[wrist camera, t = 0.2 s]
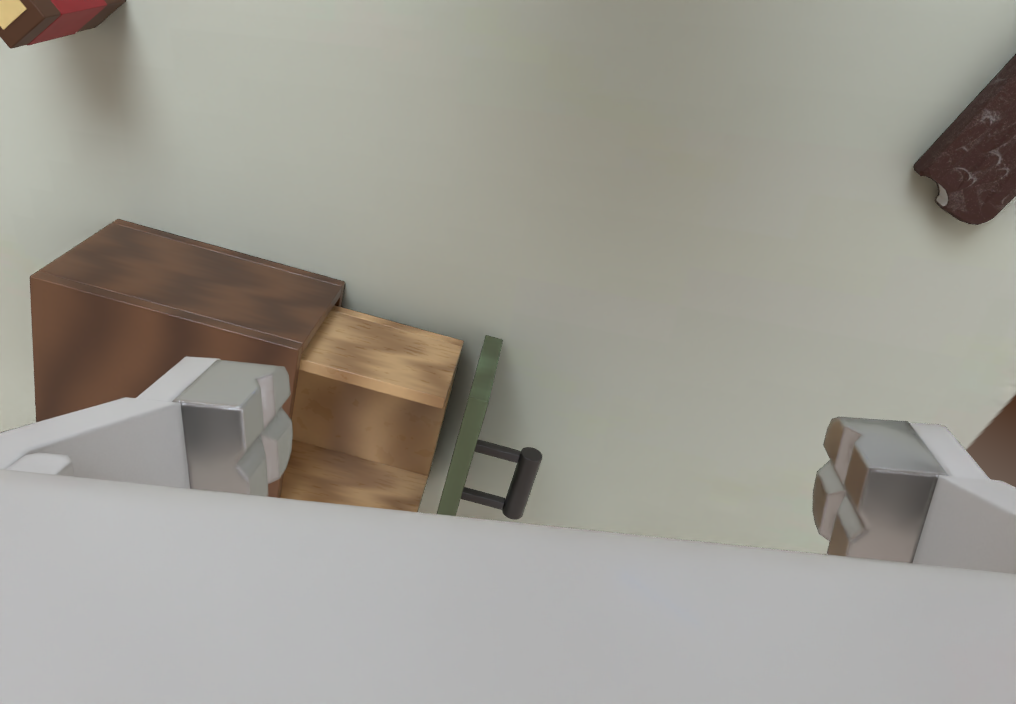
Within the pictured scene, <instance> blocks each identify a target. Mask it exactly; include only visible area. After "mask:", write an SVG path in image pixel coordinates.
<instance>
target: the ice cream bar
mask: <svg viewBox="0 0 1016 704" xmlns="http://www.w3.org/2000/svg"><path fill="white" fill-rule="evenodd" d="M914 170H915V171H916V172H917V173H918V174H919V175H920V176H927V177H929V178H931V179H933V180H934V181H935V182H936V183H937V186H938V190H939V194H938V196H937V197H936V199H935V202H936V203H937V204H938V205H939V206H940V207H941V208H942V209H943V210H945V211H946V212H948V213H949V214H951V215H952V216H953V217H955V218H956V219H958V220H960V221H962V222H965V223H968V224H975V225H979V224H982V223H985V222H987V221H989V220H991V219H993V218H994V217H995V216H996V215H997V214H998V213H999V212H1000V211H1001V210H1002V209H1003V208H1004V207H1005V206H1006V205H1007V204H1008V203H1009V202H1010V201H1011V200H1012V199H1013V198H1014V197H1015V196H1016V54H1015V56H1014V57H1013V58H1012V59H1011V60H1010V61H1009V62H1008V63H1007V64H1006V65H1005V66H1004V68H1003V69H1002V70H1001V71H1000V72H999V73H998V74H997V75H996V76H995V77H994V78H993V79H992V81H991V82H990V83H989V84H988V85H987V86H986V87H985V88H984V89H983V90H982V91H981V93H980V94H979V95H978V96H977V97H976V98H975V99H974V100H973V101H972V102H971V103H970V104H969V106H968V107H967V108H966V109H965V110H964V111H963V112H962V113H961V114H960V115H959V116H958V118H957V119H956V120H955V121H954V122H953V123H952V124H951V125H950V126H949V127H948V128H947V129H946V131H945V132H944V133H943V134H942V135H941V136H940V137H939V138H938V139H937V140H936V141H935V143H934V144H933V145H932V146H931V147H930V148H929V149H928V150H927V151H926V152H925V153H924V155H923V156H922V157H921V158H920V159H919V160H918V161H917V162H916V163H915V164H914Z"/></svg>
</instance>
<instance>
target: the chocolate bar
mask: <svg viewBox="0 0 1016 704" xmlns="http://www.w3.org/2000/svg"><path fill="white" fill-rule="evenodd" d="M124 2H126V0H0V37H1V38H2V39H3V41H4V42H5V43H6V44H7V45H8V46H9V48H15V47H19V46H23V45H32V44H36V43H40V42H44V41H48V40H52V39H56V38H59V37H63V36H67V35H71V34H75V33H76V32H79V31H83V30H87V29H91V28H95V27H97V26H98V25H99V24H100V23H101V22H102V21H104V20H105V19H106V18H107V17H108V16H109V15H111V14H112V13H113V12H114V11H115V10H116V9H117V8H119V7H120V6H121V5H122V4H123V3H124Z"/></svg>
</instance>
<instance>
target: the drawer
mask: <svg viewBox="0 0 1016 704" xmlns="http://www.w3.org/2000/svg"><path fill="white" fill-rule="evenodd" d="M463 343H464V341H462V340H458V339H455V338H451V337H447V336H444V335H440V334H436V333H433V332H429V331H426V330H422V329H418V328H415V327H411V326H407V325H404V324H400V323H397V322H393V321H389V320H386V319H382V318H378V317H375V316H371V315H367V314H364V313H360V312H357V311H353V310H349V309H346V308H342V307H338V306H335V305H334V306H333V308H332V309H331V311H330V312H329V314H328V315H327V317H326V318H325V320H324V321H323V323H322V324H321V326H320V327H319V329H318V330H317V332H316V333H315V335H314V336H313V338H312V339H311V341H310V342H309V344H308V345H307V347H306V348H305V350H304V351H303V353H302V354H301V361H300V368H299V374H298V381H297V388H296V395H295V402H294V408H293V415H292V429H293V439H292V451H291V454H290V458H289V461H288V464H287V468H286V470H285V471H284V476H283V483H282V490H281V497H280V498H286V499H295V500H305V501H315V502H324V503H334V504H344V505H353V506H363V507H373V508H382V509H392V510H402V511H411V512H418V510H419V506H420V503H421V500H422V497H423V493H424V490H425V487H426V484H427V480H428V477H429V473H430V469H431V466H432V462H433V458H434V454H435V450H436V446H437V443H438V439H439V435H440V431H441V427H442V423H443V420H444V416H445V412H446V408H447V404H448V401H449V397H450V393H451V389H452V385H453V381H454V378H455V374H456V370H457V366H458V362H459V358H460V355H461V351H462V347H463ZM502 343H503V340H501V339H498V338H494V337H491V336H487V335H486V337H485V340H484V344H483V347H482V351H481V355H480V358H479V362H478V365H477V369H476V373H475V376H474V380H473V384H472V387H471V391H470V394H469V398H468V402H467V405H466V409H465V413H464V416H463V420H462V423H461V427H460V431H459V434H458V438H457V442H456V445H455V449H454V453H453V456H452V460H451V463H450V467H449V471H448V474H447V478H446V482H445V485H444V489H443V492H442V496H441V500H440V503H439V507H438V511H437V514H440V515H450V516H456V512H457V509H458V506H459V502H460V499H464V500H468V501H471V502H475V503H479V504H482V505H486V506H490V507H494V508H497V509H501V510H502V511H503V514H504V515H505V516H506V517H508V518H510V519H519V518H521V517H522V515H523V512H524V509H525V506H526V504H527V501H528V498H529V495H530V492H531V489H532V486H533V483H534V480H535V478H536V475H537V472H538V469H539V466H540V463H541V460H542V454H541V452H540V451H538V450H537V449H535V448H531V447H526V448H523V449H522V450H521V453H520V451H519V450H515V449H511V448H508V447H504V446H500V445H497V444H493V443H489V442H485V441H482V440H478V437H479V433H480V430H481V427H482V423H483V420H484V416H485V413H486V409H487V406H488V403H489V398H490V394H491V390H492V386H493V381H494V377H495V373H496V368H497V364H498V360H499V356H500V351H501V347H502ZM474 451H475V452H479V453H483V454H486V455H490V456H494V457H497V458H501V459H505V460H508V461H512V462H516V463H517V465H516V468H515V471H514V475H513V478H512V481H511V484H510V487H509V490H508V493H507V496H506V499H505V498H503V497H499V496H496V495H492V494H488V493H485V492H481V491H477V490H473V489H470V488H466V487H464V485H465V482H466V478H467V475H468V471H469V468H470V464H471V461H472V458H473V454H474Z"/></svg>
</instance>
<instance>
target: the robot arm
mask: <svg viewBox="0 0 1016 704" xmlns="http://www.w3.org/2000/svg"><path fill="white" fill-rule="evenodd" d="M290 395H291V394H290V383H289V374H288V372H287V371H286V369H285V367H283V366H274V365H264V364H255V363H246V362H237V361H228V360H221V359H218V358H202V357H185V358H183V359H182V360H181V361H180V362H179V363H177V364H176V365H175V366H174V367H173V368H171V369H170V370H169V371H168V372H167V373H165V374H164V375H163V376H162V377H161V378H159V379H158V380H157V381H156V382H155V383H153V384H152V385H151V386H150V387H149V388H147V389H146V390H145V391H144V392H143V393H141V394H140V395H139V396H138V397H137V398H128V397H125V398H121V399H118V400H114V401H111V402H107V403H104V404H100V405H97V406H93V407H89V408H86V409H82V410H79V411H75V412H72V413H68V414H64V415H61V416H57V417H54V418H50V419H47V420H43V421H40V422H36V423H32V424H29V425H25V426H22V427H18V428H15V429H11V430H8V431H4V432H0V704H1016V488H1015V487H1013V486H1011V485H1009V484H1007V483H1005V482H1003V481H997V480H990V479H989V478H988V476H987V475H986V474H985V473H984V472H983V470H982V469H981V468H980V467H979V466H978V464H977V463H976V462H975V461H974V460H973V458H972V457H971V456H970V455H969V454H968V452H967V451H966V450H965V449H964V448H963V446H962V445H961V444H960V443H959V442H958V440H957V439H956V438H955V437H954V436H953V434H952V433H951V432H950V431H949V430H948V429H947V427H946V426H943V425H940V424H926V423H908V421H893V420H879V419H865V418H850V417H836V418H833V419H832V420H831V422H830V424H829V426H828V428H827V431H826V435H825V439H824V444H823V445H824V448H825V450H826V452H827V454H828V456H829V458H830V460H829V461H828V462H827V463H826V464H825V465H824V466H823V467H822V468H820V469H819V470H818V471H817V474H816V479H815V484H814V489H813V516H814V521H815V525H816V527H817V530H818V532H819V534H820V535H822V536H823V537H824V538H826V539H827V540H829V541H830V542H829V546H828V551H827V554H828V555H827V554H817V553H808V552H798V551H788V550H779V549H769V548H759V547H750V546H740V545H730V544H721V543H711V542H701V541H692V540H682V539H672V538H663V537H653V536H643V535H634V534H624V533H614V532H605V531H595V530H585V529H576V528H566V527H556V526H547V525H537V524H527V523H518V522H508V521H498V520H489V519H479V518H469V517H460V516H450V515H440V514H431V513H421V512H411V511H402V510H392V509H382V508H373V507H363V506H353V505H344V504H334V503H324V502H315V501H305V500H295V499H286V498H276V497H268V495H269V494H268V484H269V483H272V482H274V481H276V480H278V479H280V477H281V476H282V474H283V473H284V471H285V470H286V468H287V464H288V461H289V458H290V454H291V451H292V439H293V429H292V420H291V419H290V418H289V416H288V415H287V414H286V412H285V411H284V410H283V408H282V406H283V404H284V403H285V402H286V400H287V399H288V398H289V396H290Z"/></svg>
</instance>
